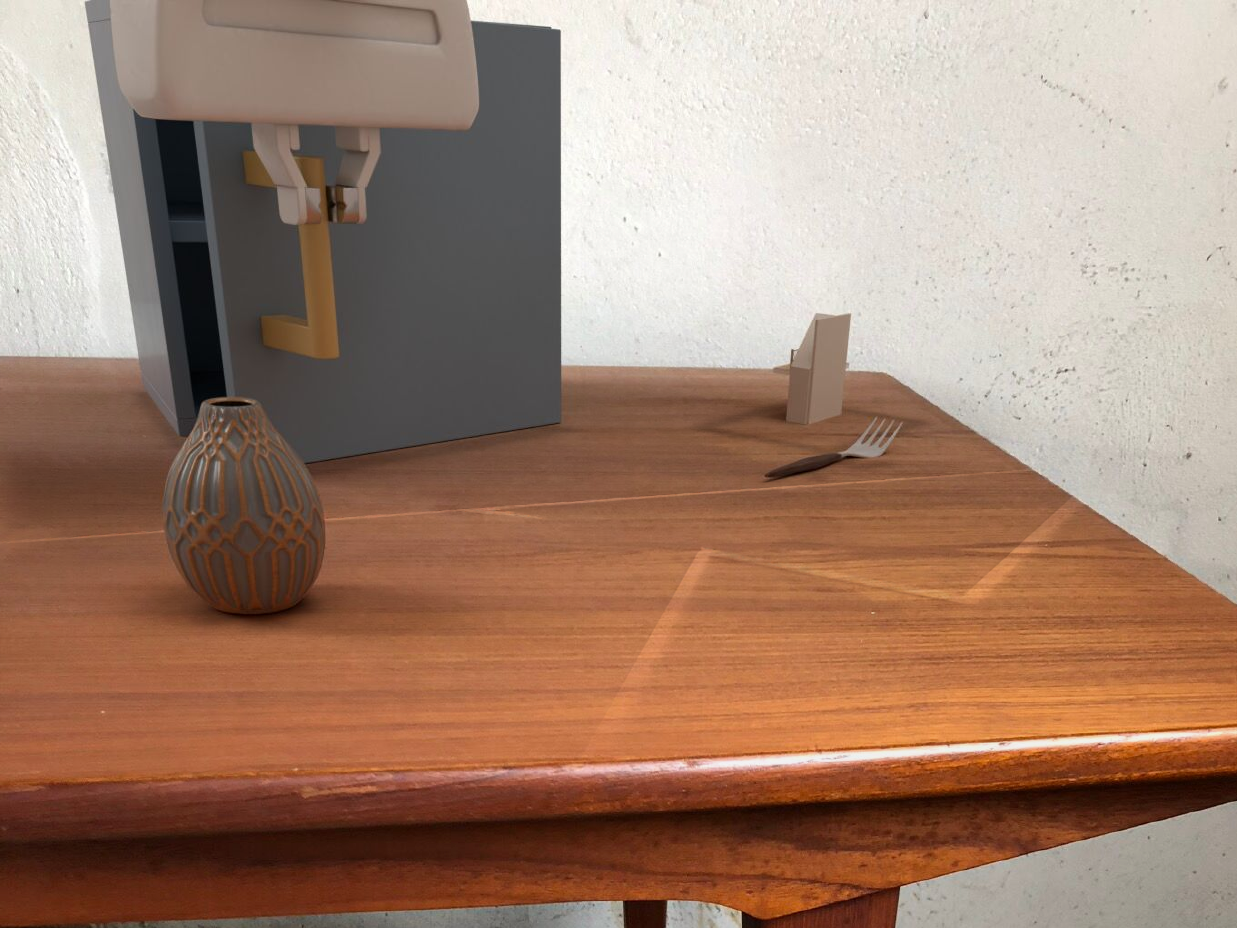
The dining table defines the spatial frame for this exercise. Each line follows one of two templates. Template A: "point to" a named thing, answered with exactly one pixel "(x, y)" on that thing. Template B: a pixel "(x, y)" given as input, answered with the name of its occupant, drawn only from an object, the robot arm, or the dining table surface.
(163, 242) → the cupboard
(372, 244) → the cupboard door
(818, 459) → the fork
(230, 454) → the vase
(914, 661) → the dining table surface
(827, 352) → the architectural model
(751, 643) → the dining table surface
